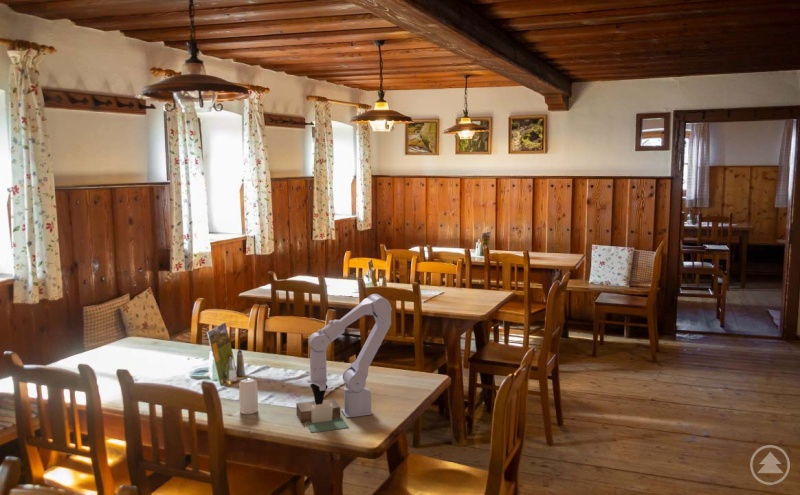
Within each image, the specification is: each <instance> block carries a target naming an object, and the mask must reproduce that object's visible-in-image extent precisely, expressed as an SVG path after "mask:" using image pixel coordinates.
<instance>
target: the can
mask: <svg viewBox="0 0 800 495" xmlns="http://www.w3.org/2000/svg"><path fill="white" fill-rule="evenodd" d="M238 389H239V391H238V394H239V395H238V398H239V412H240V414H242V415H246V416H247V415H253V414H256V413H257V412H258V411H259V401H258V400H259V399H258V398H259V396H258V395H259V394H258V391H259V390H258V382H257V379H256V378H255V377H253V376H252V377H243V378H241V379H240V380H239V383H238Z"/></svg>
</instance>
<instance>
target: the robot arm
mask: <svg viewBox="0 0 800 495" xmlns="http://www.w3.org/2000/svg"><path fill="white" fill-rule="evenodd" d="M391 305H392V304H391V303H390V301H389V300H388V299H387V298H385V297H383V296H381V295H380V294H378V293H373V294H370V295H368V297H366V298H364V299H363V300H362V301H361V302H360V303H358V304H357V305H356V306H355V307H354V308H352V309H351V310H350V311H349V312H348V313H346V314H345V315H343V317H341V318H340V319H333V320H331V319H330V320H329V321H328V324H326V325H325V326H324V327H322V328H321V329H320V328H319V329H318V330H317V331H316V332H313V333H312V334H311V335H310V336H309V338H308V340H307V342H308V343H307V344H308V345H309V346H310V349H309V350H310V351H309V353H310V354H309V363H310V364H309V369H310V372H309V374H310V378H308V379H307V380H306V381H307V383H310V384H309V386H310V387H311V390H312V393H313V398H314V399H313V400H314V401H315V403H316V405H318V404H322V403H323V400H324V398H325V393H326V391H327V389H328V385H327V382H328V378H327V377H328V376H327V375H328V374H327V349H328V347H329V344H331V343H332V342H333V341H335V340H336V339H337V338H339V337H341V335H342V334H344V333H345V332H346V331H345V330H346V328H347V327H348V326H349V325H351V324H353V323H354V322H355V321H357V320H359V319H360V318H362V317H363V316H373V318H374V321H375V323H374V325H373V327H372V328H371V331H370V333H369V334H368V337H367V338H366V340H365V343H364V344H363V346H362V348H361V350H360V352H359V354H358V355H357V357H356V359H355V361H353V362H352V363H350V366H349V367H348V368H347V369H345V370H344V372H343V374H342V379H343V382H344V383H345V385H344V389H343V393H344V394H343V395H344V396H343V397H344V401H343V402H344V404H343V405H344V408H340V412H342V414H344V416H345V418H355V417H363V416H370V415H373V412H372V393H371V389H370V388H369V387H366V384H367V379H368V376H369V368H370V365H371V364H372V362H373V360H374V358H375V356H376V354H377V352H378V350H379V348H380V346H381V345H382V343H383V341H384V339H385V337H386V334H387V333H388V331H389V329H390V328H391V325H392V309H393V308H392V306H391Z"/></svg>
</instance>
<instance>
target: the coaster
mask: <svg viewBox="0 0 800 495" xmlns="http://www.w3.org/2000/svg"><path fill="white" fill-rule="evenodd" d="M332 412H333V405H332V403H327V404H318V405H312V412H311V421H312V423H317V422H325V421H332Z"/></svg>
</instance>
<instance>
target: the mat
mask: <svg viewBox="0 0 800 495" xmlns="http://www.w3.org/2000/svg"><path fill="white" fill-rule="evenodd" d="M305 424H306V426H307V428H308V430H309V432H310V433H311V434H313V433H319V432H327V431H328V432H329V431H335V430H337V431H338V430H343V429H345V430H346V429H349V428H350V427H349V425H348V424H347V422H346V421H345V420H344V418H343V417H341V416H340V418H332V421H325V422H317V423H312V421H308V422H305Z"/></svg>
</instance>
